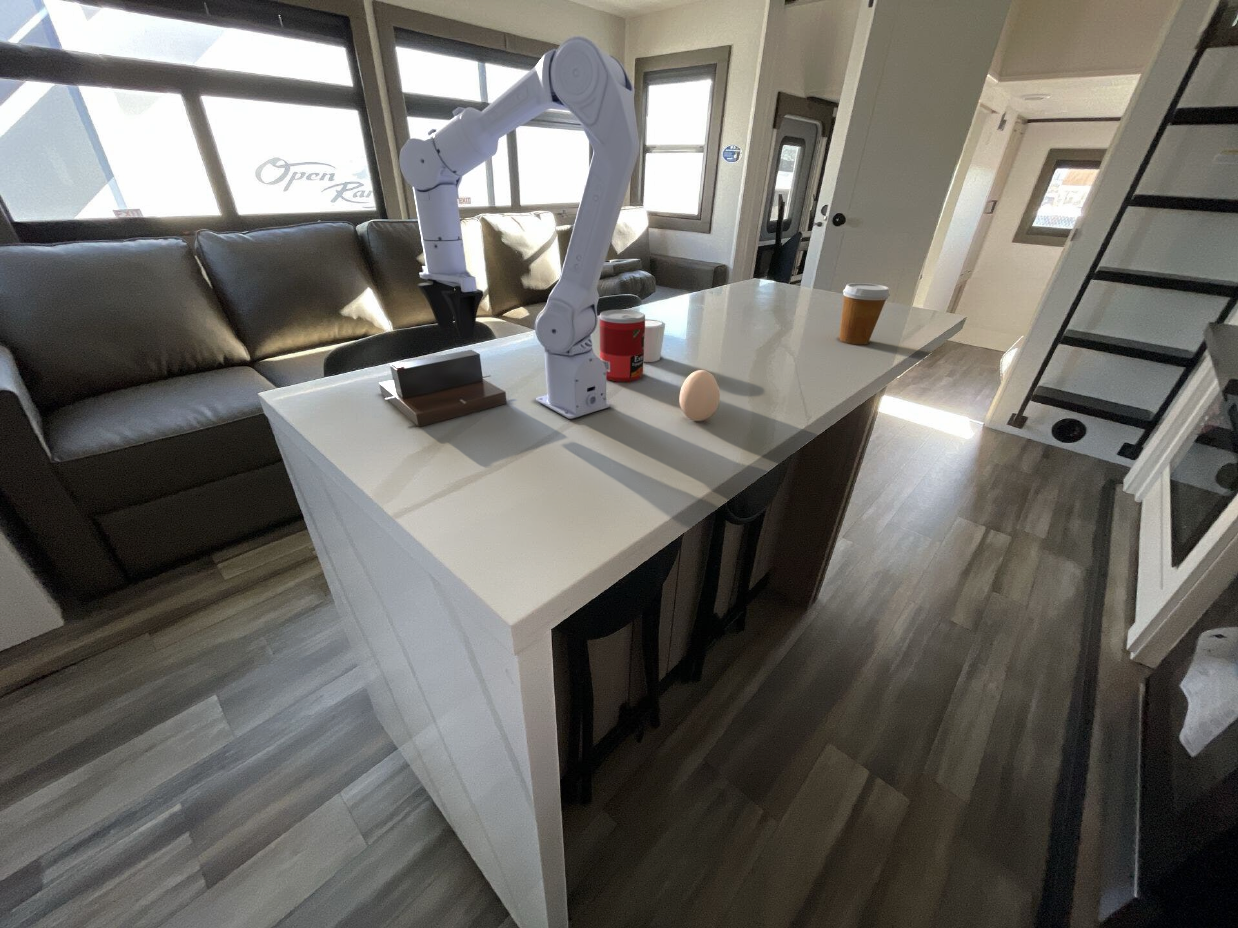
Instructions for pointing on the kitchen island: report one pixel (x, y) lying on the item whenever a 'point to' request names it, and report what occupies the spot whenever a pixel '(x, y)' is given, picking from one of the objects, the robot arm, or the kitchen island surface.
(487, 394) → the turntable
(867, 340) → the disposable coffee cup
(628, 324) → the canned food
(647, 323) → the white cup
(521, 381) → the kitchen island surface
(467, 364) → the gray steel bar
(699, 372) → the egg
